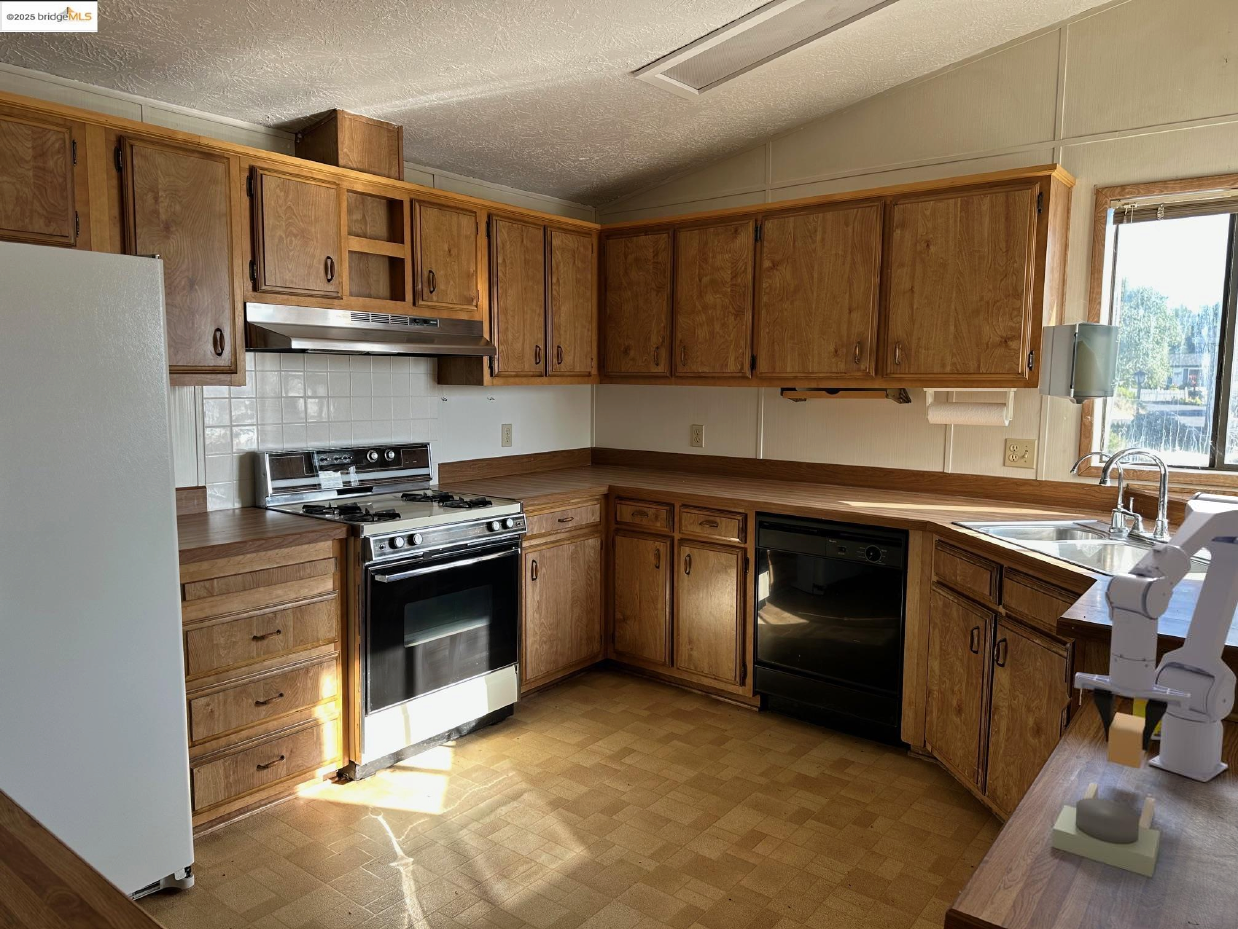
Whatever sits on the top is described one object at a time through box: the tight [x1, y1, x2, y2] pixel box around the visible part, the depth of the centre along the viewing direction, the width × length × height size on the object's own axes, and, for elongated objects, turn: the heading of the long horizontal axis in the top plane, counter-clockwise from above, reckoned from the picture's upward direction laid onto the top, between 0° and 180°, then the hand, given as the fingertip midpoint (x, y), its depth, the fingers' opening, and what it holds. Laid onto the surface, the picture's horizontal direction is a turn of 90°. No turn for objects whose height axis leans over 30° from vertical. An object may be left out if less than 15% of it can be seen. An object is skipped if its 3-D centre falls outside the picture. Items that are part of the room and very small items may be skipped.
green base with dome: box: [1051, 781, 1161, 878], centre depth 112 cm, size 20×11×5 cm, turn 142°
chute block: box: [1106, 712, 1146, 770], centre depth 124 cm, size 8×4×5 cm, turn 142°
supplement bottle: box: [1132, 698, 1162, 741], centre depth 145 cm, size 6×6×10 cm
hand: (1127, 744), depth 124 cm, fingers closed on chute block, 4 cm apart
